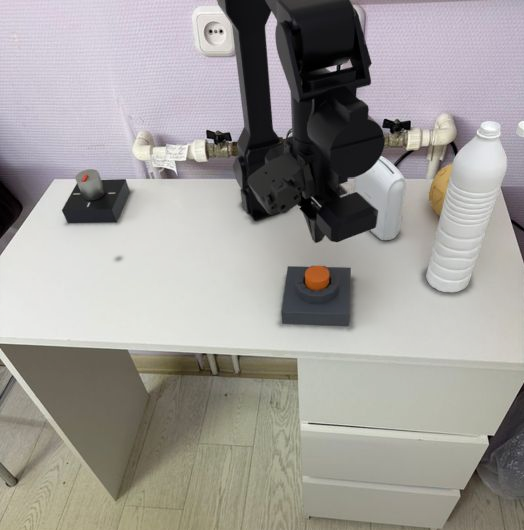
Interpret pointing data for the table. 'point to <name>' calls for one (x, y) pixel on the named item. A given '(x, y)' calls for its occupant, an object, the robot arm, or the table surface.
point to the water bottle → (468, 208)
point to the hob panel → (97, 204)
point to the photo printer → (384, 196)
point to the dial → (90, 184)
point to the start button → (317, 277)
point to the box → (317, 298)
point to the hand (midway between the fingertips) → (317, 240)
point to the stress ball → (439, 188)
